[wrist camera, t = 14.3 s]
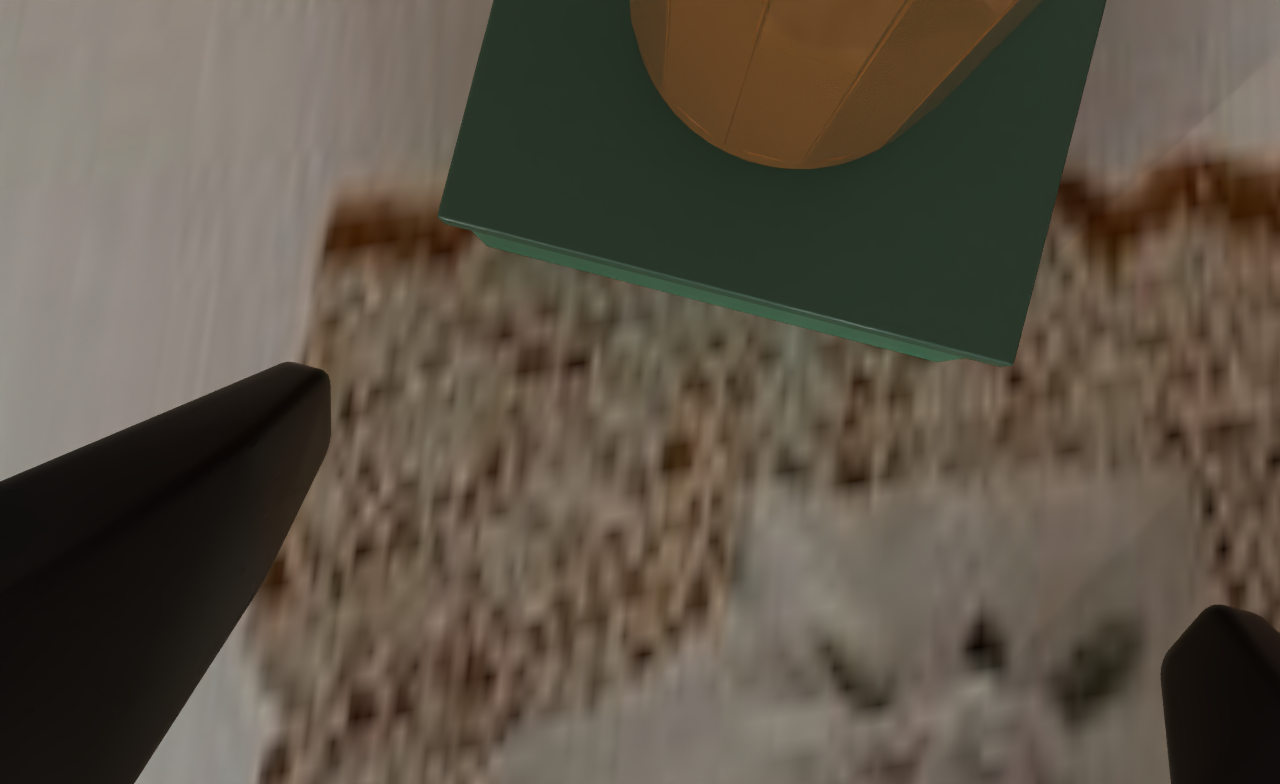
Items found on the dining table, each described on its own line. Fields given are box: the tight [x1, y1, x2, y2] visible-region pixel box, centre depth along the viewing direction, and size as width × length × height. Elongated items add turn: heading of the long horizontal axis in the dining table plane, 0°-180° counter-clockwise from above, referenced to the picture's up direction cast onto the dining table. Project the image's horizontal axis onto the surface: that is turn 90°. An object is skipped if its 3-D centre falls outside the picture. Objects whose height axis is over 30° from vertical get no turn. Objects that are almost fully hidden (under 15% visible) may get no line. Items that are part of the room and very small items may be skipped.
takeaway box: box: [438, 0, 1106, 367], centre depth 20 cm, size 11×11×4 cm
